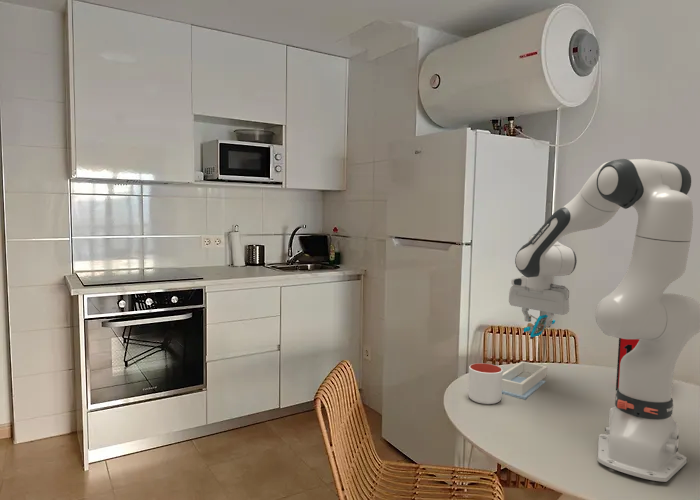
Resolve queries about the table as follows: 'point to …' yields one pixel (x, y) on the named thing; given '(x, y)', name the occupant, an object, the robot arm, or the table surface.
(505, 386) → the white blue rectangular tray
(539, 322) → the gear mechanism
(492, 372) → the cup
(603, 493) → the table surface
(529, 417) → the table surface
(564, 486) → the table surface
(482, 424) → the table surface
